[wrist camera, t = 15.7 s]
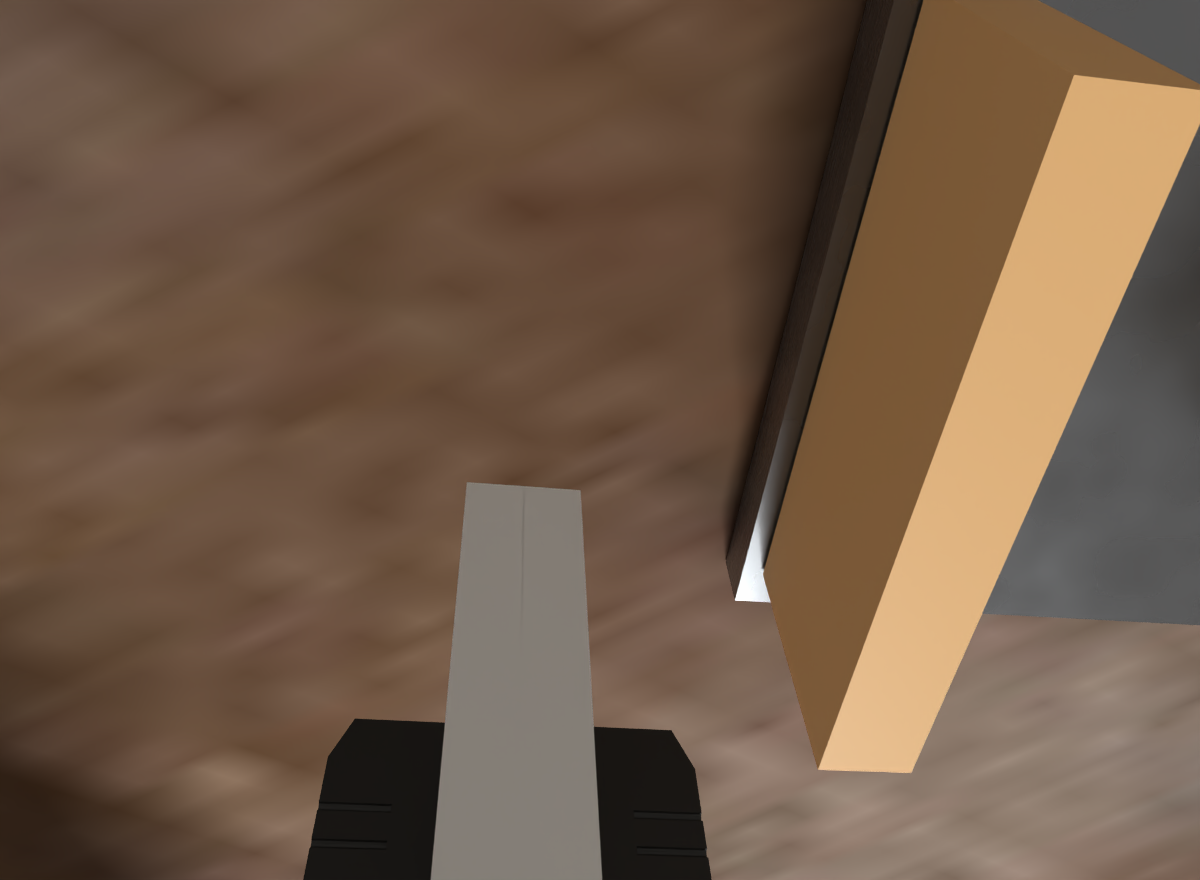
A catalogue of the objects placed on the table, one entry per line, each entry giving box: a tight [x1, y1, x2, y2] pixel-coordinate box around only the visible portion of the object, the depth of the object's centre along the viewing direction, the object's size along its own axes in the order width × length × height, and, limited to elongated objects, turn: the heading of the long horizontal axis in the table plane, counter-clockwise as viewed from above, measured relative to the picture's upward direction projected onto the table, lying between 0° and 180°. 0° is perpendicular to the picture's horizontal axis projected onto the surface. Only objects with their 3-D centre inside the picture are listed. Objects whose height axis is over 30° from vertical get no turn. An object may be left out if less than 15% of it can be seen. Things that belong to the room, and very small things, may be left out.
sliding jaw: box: [763, 0, 1200, 773], centre depth 20 cm, size 14×2×6 cm, turn 173°
